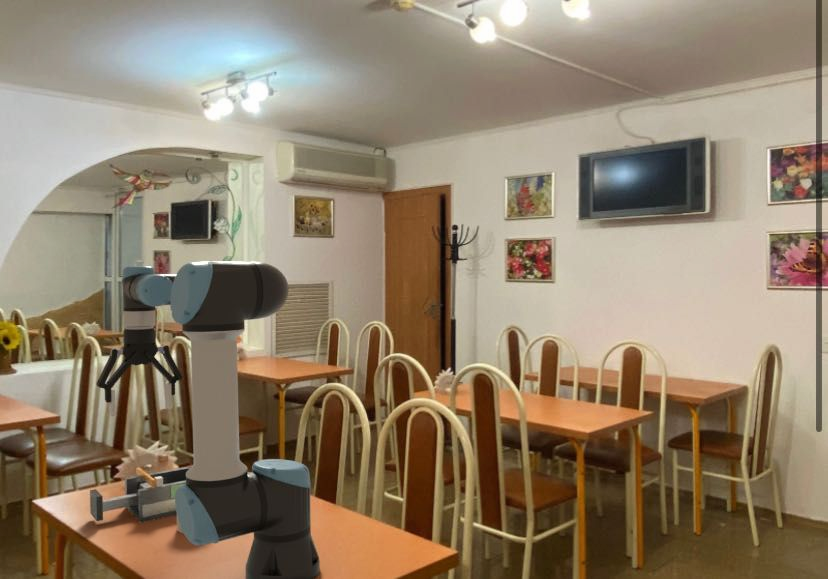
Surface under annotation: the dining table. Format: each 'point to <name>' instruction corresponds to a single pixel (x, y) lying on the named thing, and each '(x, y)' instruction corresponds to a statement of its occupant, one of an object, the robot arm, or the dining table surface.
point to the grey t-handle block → (117, 498)
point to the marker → (158, 481)
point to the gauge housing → (156, 494)
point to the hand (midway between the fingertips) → (141, 411)
